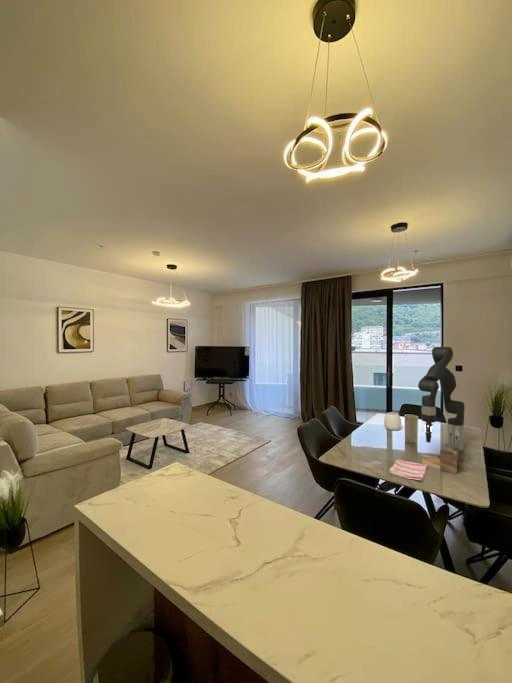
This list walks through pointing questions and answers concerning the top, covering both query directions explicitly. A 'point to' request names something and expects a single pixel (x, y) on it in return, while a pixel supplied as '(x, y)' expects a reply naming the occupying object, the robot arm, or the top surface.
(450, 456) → the wooden block holder
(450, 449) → the bracket
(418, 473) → the dish towel
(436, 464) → the tan rectangular block
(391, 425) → the cup
